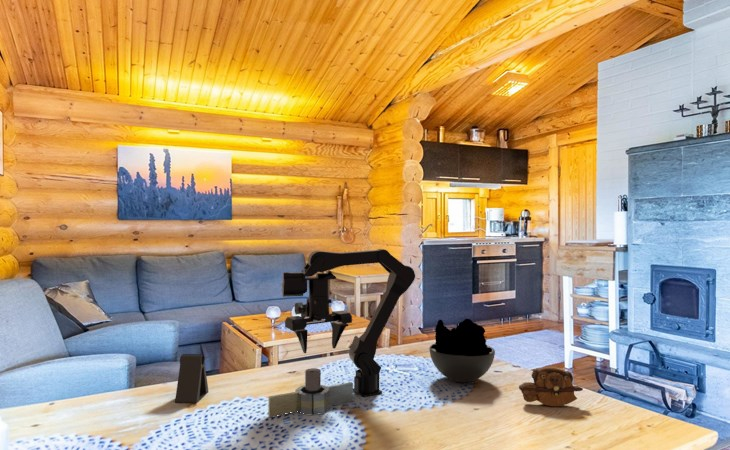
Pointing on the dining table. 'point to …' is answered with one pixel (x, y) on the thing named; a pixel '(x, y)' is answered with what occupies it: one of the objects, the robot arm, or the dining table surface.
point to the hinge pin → (312, 381)
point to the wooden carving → (550, 387)
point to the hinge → (310, 400)
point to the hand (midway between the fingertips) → (319, 350)
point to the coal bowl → (461, 351)
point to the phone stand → (191, 379)
